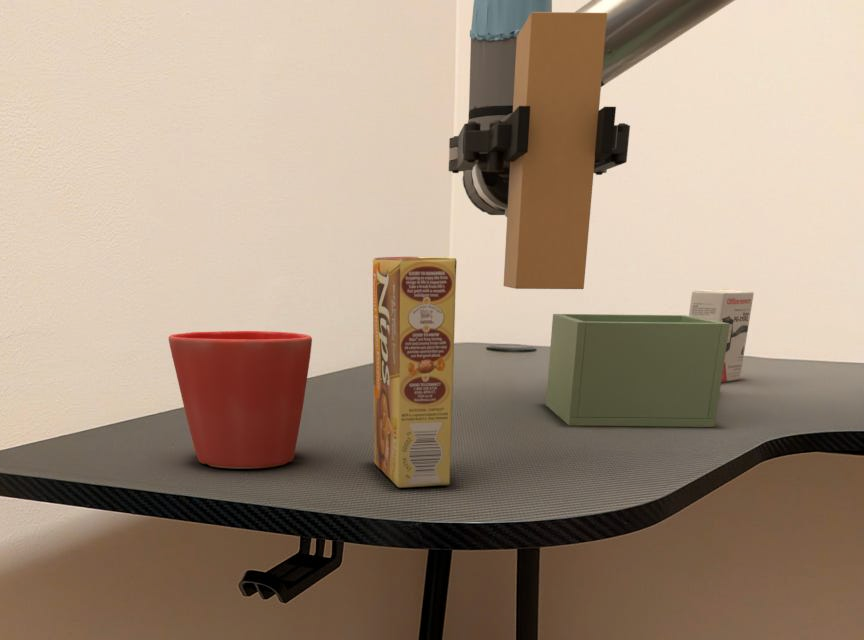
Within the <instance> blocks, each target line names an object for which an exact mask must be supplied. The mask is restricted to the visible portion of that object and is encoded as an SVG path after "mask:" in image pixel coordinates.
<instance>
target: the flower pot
mask: <svg viewBox="0 0 864 640" xmlns="http://www.w3.org/2000/svg"><path fill="white" fill-rule="evenodd" d="M168 344H169V349H170V352H171V353H170V354H171V357H172V361H173V367H174V370H175V374H176V378H177V383H178V387H179V392H180V396H181V400H182V404H183V408H184V409H183V410H184V413H185V417H186V421H187V425H188V429H189V433H190V436H191V440H192V444H193V448H194V452H195V455H196V458H197V460H198V462H199V463H201V464H203V465H208V466H210V467H213V468H219V469H220V468H221V469H233V470H234V469H235V470H238V469H239V470H241V469H242V470H243V469H244V470H250V469H251V470H252V469H266V468H274V467H279V466H284V465H287V463H291V462H292V461H293V460H294V459H295V454H296V448H297V442H298V437H299V431H300V427H301V420H302V414H303V408H304V402H305V395H306V388H307V382H308V375H309V368H310V360H311V354H312V345H313V337H312V336H311V335H309V334H304V333H296V332H286V331H268V330H267V331H265V330H222V331H221V330H219V331H218V330H217V331H193V332H192V331H191V332H183V333H175V334H170V335H169V336H168Z"/></svg>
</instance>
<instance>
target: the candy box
mask: <svg viewBox="0 0 864 640" xmlns="http://www.w3.org/2000/svg"><path fill="white" fill-rule="evenodd" d="M457 263H458V262H457V258H456V257H444V256H443V257H442V256H383V257H374V258H373V259H372V329H373V330H372V331H373V332H372V333H373V334H372V346H373V347H372V348H373V349H372V350H373V351H372V354H373V355H372V359H373V360H372V363H373V364H372V366H373V367H372V368H373V369H372V370H373V371H372V372H373V375H372V376H373V379H372V380H373V381H372V382H373V385H372V386H373V463H374V464H375V465H376V467H377V468H378V469H379V470H381V472H383V474H384V475H385V476H386V477H387V478H389V479H390V481H391V482H392V483H393V484H394V485H395V486H396V487H397V488H399V489H401V488H402V489H403V488H419V487H437V486H438V487H439V486H441V487H443V486H444V487H445V486H449V485H450V484H451V461H452V460H451V459H452V457H451V456H452V426H453V424H452V422H453V394H454V393H453V392H454V387H453V386H454V363H455V362H454V360H455V359H454V358H455V357H454V356H455V326H456V325H455V324H456V323H455V322H456V292H457V291H456V289H457V286H456V285H457Z"/></svg>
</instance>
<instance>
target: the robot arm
mask: <svg viewBox="0 0 864 640" xmlns="http://www.w3.org/2000/svg"><path fill="white" fill-rule="evenodd" d="M734 1H736V0H590V1H588V2H587V3H586V4H584V5H583V6H581V7H579V9H577V10H576V11H575V12H583V13H607V22H606V33H605V45H604V57H603V69H602V80H601V88H602V87H604V86H605V85H607V84H608V83H610V82H611V81H613V80H614V79H615V78H618V77H620V76H621V75H622V74H623V73H625V72H627V71H629V70H630V69H631V68H633V67H635V66H636V65H637V64H639V63H641V62H642V61H644V60H646V59H647V58H649V57H650V56H651V55H654V54H655V53H656V52H658V51H659V50H660V49H662V48H664V47H665V46H667V45H669V44H670V43H672V42H673V41H674V40H676V39H677V38H679V37H681V36H682V35H684V34H686V33H687V32H689V31H690V30H691V29H693V28H695V27H696V26H698V25H700V24H701V23H703V22H704V21H705V20H707V19H709V18H710V17H712V16H713V15H715V14H717V13H718V12H719V11H721V10H723V9H724V8H725V7H727V6H729V5H731V3H733V2H734ZM532 12H553V0H473V5H472V15H471V17H472V19H471V25H470V26H471V27H470V30H469V38H470V57H469V58H470V59H469V89H468V90H469V91H468V92H469V93H468V99H469V100H468V120H467V123H464V124H463V126H462V128H461V130H460V132H459V133H458V135H454V136H452V137H450V138H449V139H448V140H449V143H448V172H451V173H452V174H459V172H462V185H463V189H464V192H465V194H466V196H467V198H468V199H469V202H470V203H472V205H473V206H474V207H476V208H477V209H478V210H479V211H481V212H482V213H486V214H488V215H489V216H505V217H506V218H507V211H508V192H509V173H510V162H514V161H516V160H517V159H518V158H520V157H521V156H522V155H524V154H526V153H527V152H528V138H529V121H530V106H519V107H518V108H517V109H516V110H515V111H514V112H513V99H514V80H515V61H516V42H517V36H518V34H519V32H520V31H521V29H522V27H523V26H524V24H525V23H526V21H527V19H528V18H529V16H530V14H531V13H532ZM616 111H617V106H603V107H602V108H601V109H599V113H598V124H597V136H596V148H595V162H594V175H596V176H602V175H603V174H606V173H607V172H608V171H607V170H609V169H613V168H616V167H618V166H620V165H621V166H622V165H623V164H626V163H627V160H628V151H629V143H630V142H629V140H630V131H631V125H629V124H628V123H625V122H620V123H618V124H615V122H616Z"/></svg>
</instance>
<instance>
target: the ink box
mask: <svg viewBox="0 0 864 640" xmlns="http://www.w3.org/2000/svg"><path fill="white" fill-rule="evenodd" d="M690 296H691V297H690V304H689V305H690V306H689V311H688V312H689V313H688V316H692V317H698V318H703V319H708V320H713V321H719V322H724V323H729V324H730V326H729V333H728V340H727V346H726V353H725V360H724V366H723V373H722V380H721V383H724V382H731V381H737V380H741V375H742V368H743V363H744V357H745V356H744V355H745V351H746V350H745V349H746V344H747V338H748V331H749V325H750V318H751V314H752V313H751V312H752V307H753V301H754V292H753V291H750V290H749V291H748V290H739V289H728V288H727V289H725V288H713V289H711V288H710V289H709V288H708V289H695V290H694V291H692V292H691V295H690Z"/></svg>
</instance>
